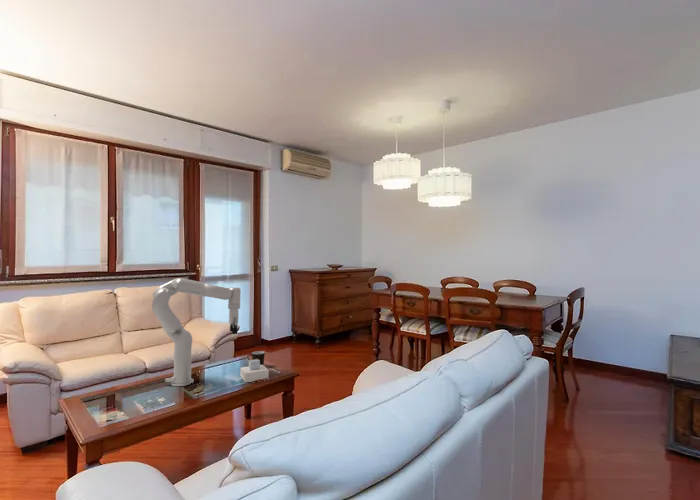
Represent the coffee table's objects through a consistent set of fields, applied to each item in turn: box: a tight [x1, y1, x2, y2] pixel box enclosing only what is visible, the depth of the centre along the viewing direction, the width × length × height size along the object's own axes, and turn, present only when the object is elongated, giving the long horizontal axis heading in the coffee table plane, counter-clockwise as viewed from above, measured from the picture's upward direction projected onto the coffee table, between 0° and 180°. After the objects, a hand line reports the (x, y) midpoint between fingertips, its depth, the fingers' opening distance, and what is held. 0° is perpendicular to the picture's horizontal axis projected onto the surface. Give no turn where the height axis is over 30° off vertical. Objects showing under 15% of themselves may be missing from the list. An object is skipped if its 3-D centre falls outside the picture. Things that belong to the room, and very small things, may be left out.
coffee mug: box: [246, 350, 266, 365], centre depth 252 cm, size 12×9×10 cm
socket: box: [239, 364, 269, 383], centre depth 226 cm, size 14×14×6 cm
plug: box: [248, 359, 260, 370], centre depth 226 cm, size 6×4×10 cm, turn 118°
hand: (233, 332), depth 238 cm, fingers open, 9 cm apart
